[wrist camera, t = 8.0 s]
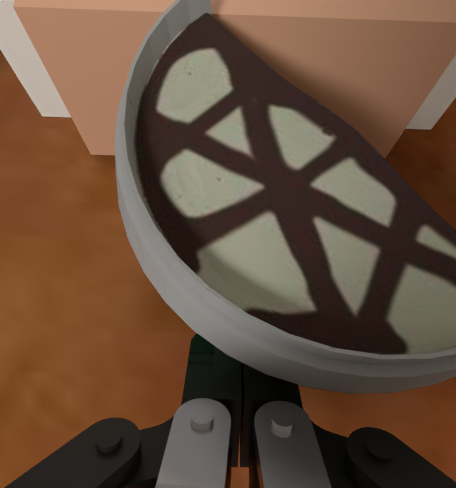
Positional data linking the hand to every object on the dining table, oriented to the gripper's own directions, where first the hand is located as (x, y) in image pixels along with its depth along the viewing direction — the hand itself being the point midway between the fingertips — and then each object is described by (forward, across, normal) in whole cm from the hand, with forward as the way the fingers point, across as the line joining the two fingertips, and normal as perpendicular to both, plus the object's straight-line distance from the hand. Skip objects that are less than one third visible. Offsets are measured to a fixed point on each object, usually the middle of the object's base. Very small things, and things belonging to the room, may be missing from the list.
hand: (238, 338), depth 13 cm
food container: (+5, 0, +2) cm, 5 cm away
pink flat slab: (+10, 0, -4) cm, 11 cm away
